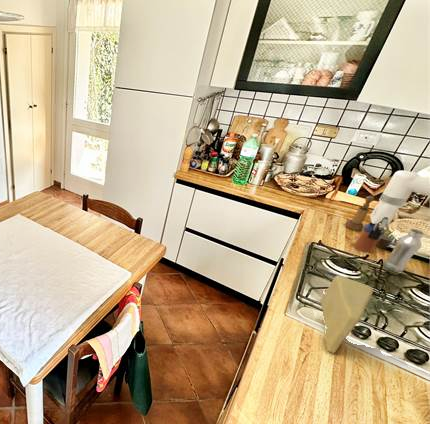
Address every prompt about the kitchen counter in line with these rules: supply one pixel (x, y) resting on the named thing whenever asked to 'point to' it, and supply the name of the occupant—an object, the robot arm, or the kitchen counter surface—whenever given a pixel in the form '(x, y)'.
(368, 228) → the jar lid
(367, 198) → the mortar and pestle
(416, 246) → the plastic bottle
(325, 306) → the cheese
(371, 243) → the jam jar
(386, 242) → the lid stand
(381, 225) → the robot arm
